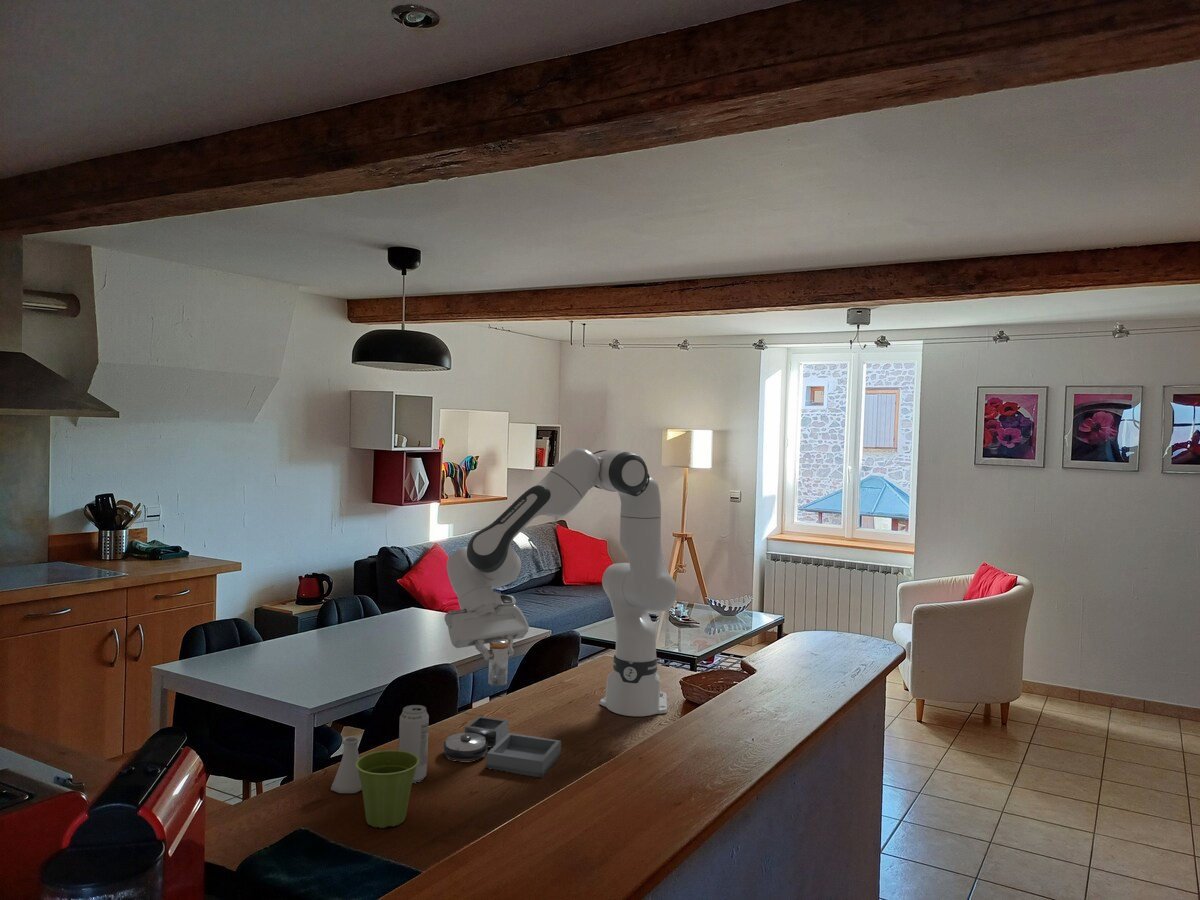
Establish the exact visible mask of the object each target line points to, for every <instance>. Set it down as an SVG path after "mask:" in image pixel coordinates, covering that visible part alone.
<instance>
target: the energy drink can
mask: <svg viewBox="0 0 1200 900" xmlns="http://www.w3.org/2000/svg"><path fill="white" fill-rule="evenodd" d="M429 719H430V714H428V711H427V707H426V706H424V705H421V704H411V705H406V706H405V707H402V712H401V714H400V715H399V728H398V729H399V730H398V749H397V750H400V751H407V752H411V753H414V754H416V755H417V756H418V757H419V759H420V762H419V764H418V766H417V767H416V770H415V775H414V777H413V781H412V783H415V784H417V783H416V782H419V783H421V782H422V781H421V780H423V779H424V778H425V777H426V776H427V773H428V746H429V744H428V742H429V725H430V724H429ZM420 781H421V782H420ZM423 781H424V780H423Z"/></svg>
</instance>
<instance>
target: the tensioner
mask: <svg viewBox="0 0 1200 900" xmlns="http://www.w3.org/2000/svg"><path fill="white" fill-rule="evenodd" d="M509 722H510V721H509V719H502V718H497V717H496V718H495V717H489V716H481V715H477V716H476V717H475V718H474V719H473V720H471V721H470V722H469V723H468V724H466V725H465V726H464V732H459V733H454V734H451V735H448V736H447V737H446V739H445V740H444V741H443V747H442V753H443V754H444V755H446V756H445V758H446V757H447V758H449V759H452V760H456V761H473V760H477V759H480V758H482V757H483V756H484V755H487V752H488V748H489V747H488V746H491V747H494V746H495V745H496V744H497V743H498V742H499V741H500V740H501V739H502V738H504V737H505V736H506V735H507V734H508V733H509V728H510V727H509V724H510V723H509ZM484 757H485V756H484ZM484 757H483V758H484ZM447 758H446V759H447ZM483 758H482V759H483ZM449 759H448V760H449ZM480 760H481V759H480Z"/></svg>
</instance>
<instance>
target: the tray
mask: <svg viewBox="0 0 1200 900" xmlns="http://www.w3.org/2000/svg"><path fill="white" fill-rule="evenodd" d="M561 750H562V740H558V739H552V738H547V737H546V738H545V737H539V736H532V735H525V734H519V733H513V732H512V733H511V732H508V734H507V735H506V736H505V737H504V738H502V739H501V740H500V741H499V742H498V743H497V744H496V745H495V746H494V747H493V748H490V750H488V751H487V753H486V764H485V765H486V766H485V769H486V768H491V769H495V770H494V771H497V770H500V771H499V772H503V771H505V772H504V773H509V772H511V774H514V775H515V774H517V775H524V776H529V777H536V778H543V777H544V776H545V775H546V774H547V772H548V771H549V770H550V769H551V767H552V766H553V765H554V764H555V763H556V762H557V761H558V759H559V758H560V756H561V752H562V751H561ZM491 769H490V770H491Z"/></svg>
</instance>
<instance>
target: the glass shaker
mask: <svg viewBox="0 0 1200 900" xmlns="http://www.w3.org/2000/svg"><path fill="white" fill-rule="evenodd" d="M508 647H509V641H508V640H506V639H492V640H490V643H489V650H492V653H493V658H492V659H490V660H488V682H487V684H489V686H495V687H500V686H505V685H507V684H508V672H509V671H508V667H509V664H508V663H509V656H508Z"/></svg>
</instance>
